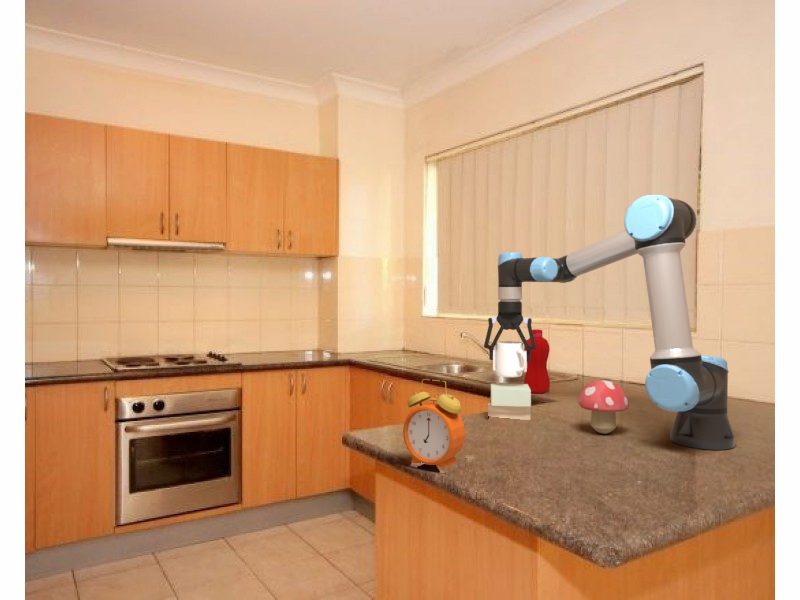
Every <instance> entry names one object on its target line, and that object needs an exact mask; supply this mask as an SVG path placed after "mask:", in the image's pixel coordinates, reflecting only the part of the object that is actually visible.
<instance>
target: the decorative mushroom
mask: <svg viewBox="0 0 800 600" xmlns="http://www.w3.org/2000/svg"><path fill="white" fill-rule="evenodd" d="M577 403H578V405H579V406H580V408H582V409H585V410H587V411H590V413H591V415H590V425H591V426H590V427H592V428H593V429H594V430H595V431H596V432H598V433H599V434H602V435H606V434H609V433H611V432H612V431H614V430H615V429H616V428H617V416H616V413H619V412H624V411H626V410H628V409H629V407H630V401H629V398H628V396H627V394H626V391H624V389H623V388H622V387H621V386H619V385H618V384H616V383H615V382H612V381H609V380H603V379H602V380H601V379H600V380H595V381H592V382H590V383H588V384H587V385H586V386H584V388H583V389H582V390H581V392H580V394H579V397H578V401H577Z"/></svg>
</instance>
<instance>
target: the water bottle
mask: <svg viewBox="0 0 800 600" xmlns="http://www.w3.org/2000/svg"><path fill="white" fill-rule="evenodd" d="M532 331H533V336H534V340H535V344H536V349H533V350H531V351H530V361H527V372H525V375H524V379H523V384H528V386H529V388H530V390H531V394H542V395H543V394H546V393H548V392H549V390H550V387H551V386H550V385H551V384H550V375H549V372H548V368H547V366H548V365H547V364H548V359H549V355H550V352H551V351H550V344H549V341H548V340H547V339H546V338H545V337H543V330H542V329H539V328H537V329H532ZM526 341H527V343H528V345H529V346H532V344H531V340H530V337H529V338H528V339H526ZM524 350H526V348H525V346H524V345H523V351H524Z"/></svg>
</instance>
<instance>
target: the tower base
mask: <svg viewBox="0 0 800 600" xmlns="http://www.w3.org/2000/svg"><path fill="white" fill-rule="evenodd" d="M531 408H532V406H492V405H491V397H489V401H488V404H487V417H488V416H491V417H499V418H510V419H520V420H531V413H532V411H531Z"/></svg>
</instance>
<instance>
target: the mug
mask: <svg viewBox="0 0 800 600" xmlns="http://www.w3.org/2000/svg"><path fill="white" fill-rule="evenodd" d="M495 350H496V370H495V374H496V376H498V377H502V378H519V377H522V376H523V373H524V369H525V365H526V358H525V354H524V344H523V342H522V341H504V340H503V341H497V343H496V345H495Z"/></svg>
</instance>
